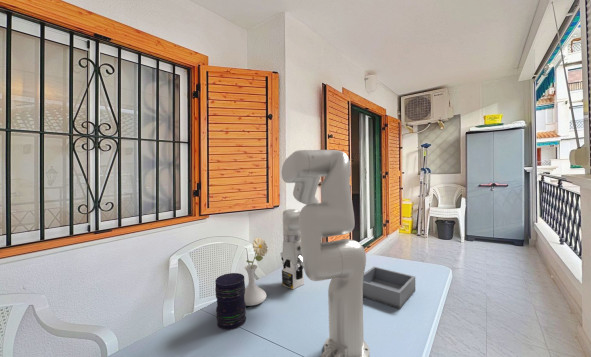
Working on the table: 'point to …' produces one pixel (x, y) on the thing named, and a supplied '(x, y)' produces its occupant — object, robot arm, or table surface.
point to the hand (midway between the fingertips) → (292, 275)
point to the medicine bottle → (291, 276)
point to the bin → (388, 286)
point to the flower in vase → (253, 292)
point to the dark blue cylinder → (230, 301)
